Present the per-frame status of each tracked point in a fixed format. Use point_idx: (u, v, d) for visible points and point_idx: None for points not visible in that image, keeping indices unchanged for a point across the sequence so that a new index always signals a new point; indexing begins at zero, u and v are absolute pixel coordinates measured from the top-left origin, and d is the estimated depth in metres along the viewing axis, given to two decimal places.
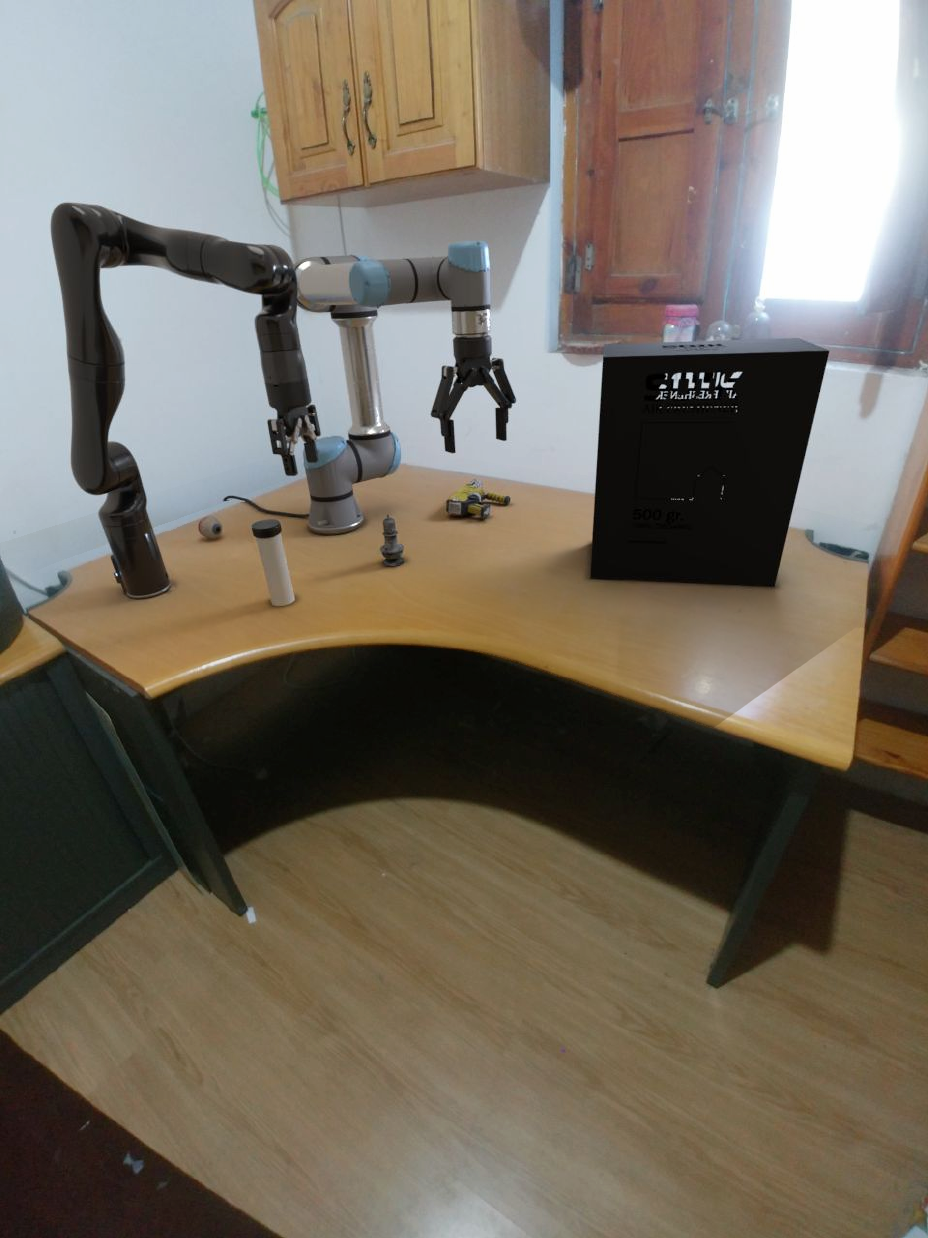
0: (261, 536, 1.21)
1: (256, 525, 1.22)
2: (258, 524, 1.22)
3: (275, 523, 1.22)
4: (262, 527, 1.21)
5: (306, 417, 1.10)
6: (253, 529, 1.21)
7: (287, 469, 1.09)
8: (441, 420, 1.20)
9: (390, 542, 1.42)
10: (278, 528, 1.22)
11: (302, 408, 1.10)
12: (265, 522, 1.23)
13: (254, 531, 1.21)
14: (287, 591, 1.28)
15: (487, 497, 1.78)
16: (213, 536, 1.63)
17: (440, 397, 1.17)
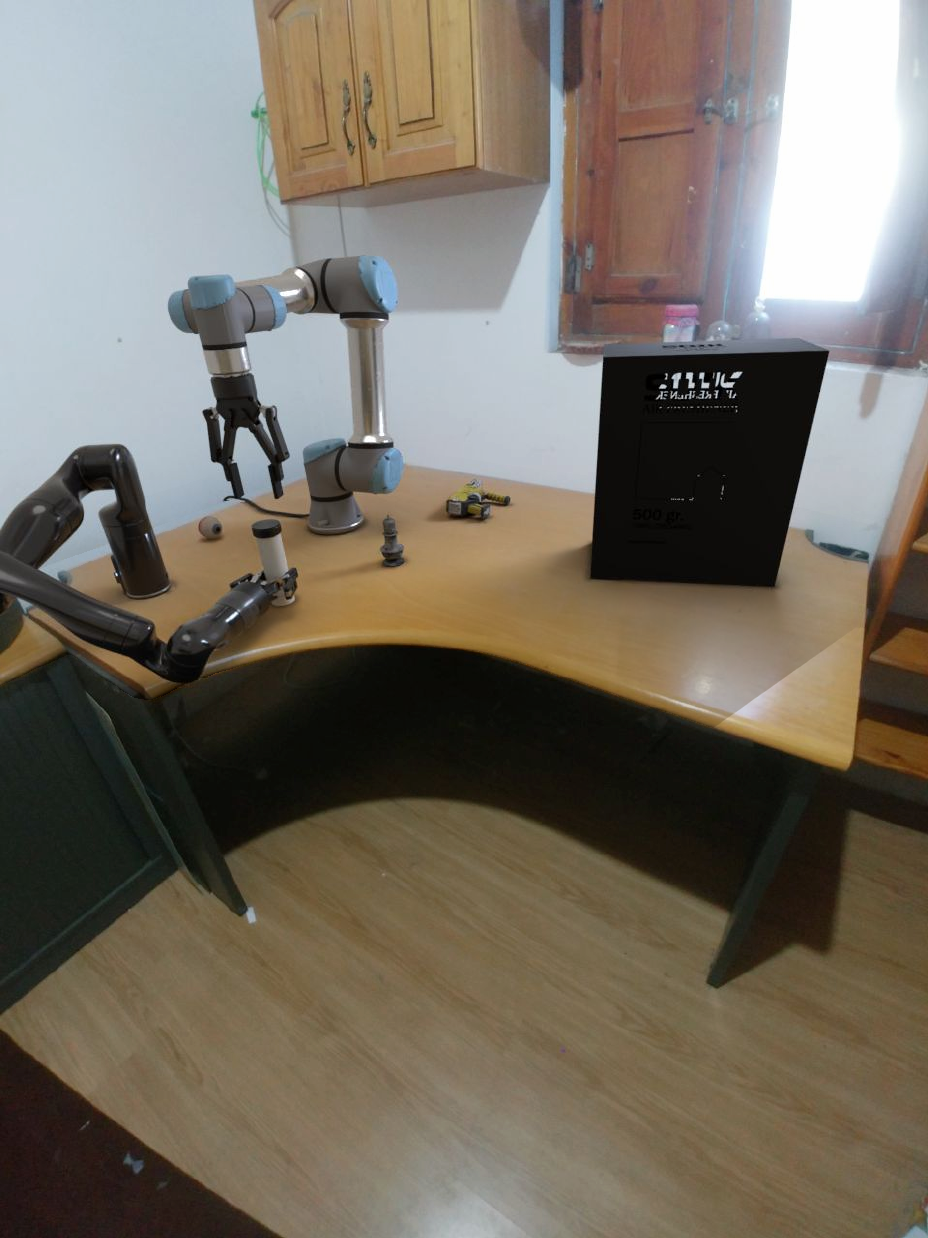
0: (261, 536, 1.21)
1: (256, 525, 1.22)
2: (258, 524, 1.22)
3: (275, 523, 1.22)
4: (262, 527, 1.21)
5: None
6: (253, 529, 1.21)
7: (296, 575, 1.29)
8: (280, 463, 1.15)
9: (390, 542, 1.42)
10: (278, 528, 1.22)
11: None
12: (265, 522, 1.23)
13: (254, 531, 1.21)
14: None
15: (487, 497, 1.78)
16: (213, 536, 1.63)
17: (282, 439, 1.13)
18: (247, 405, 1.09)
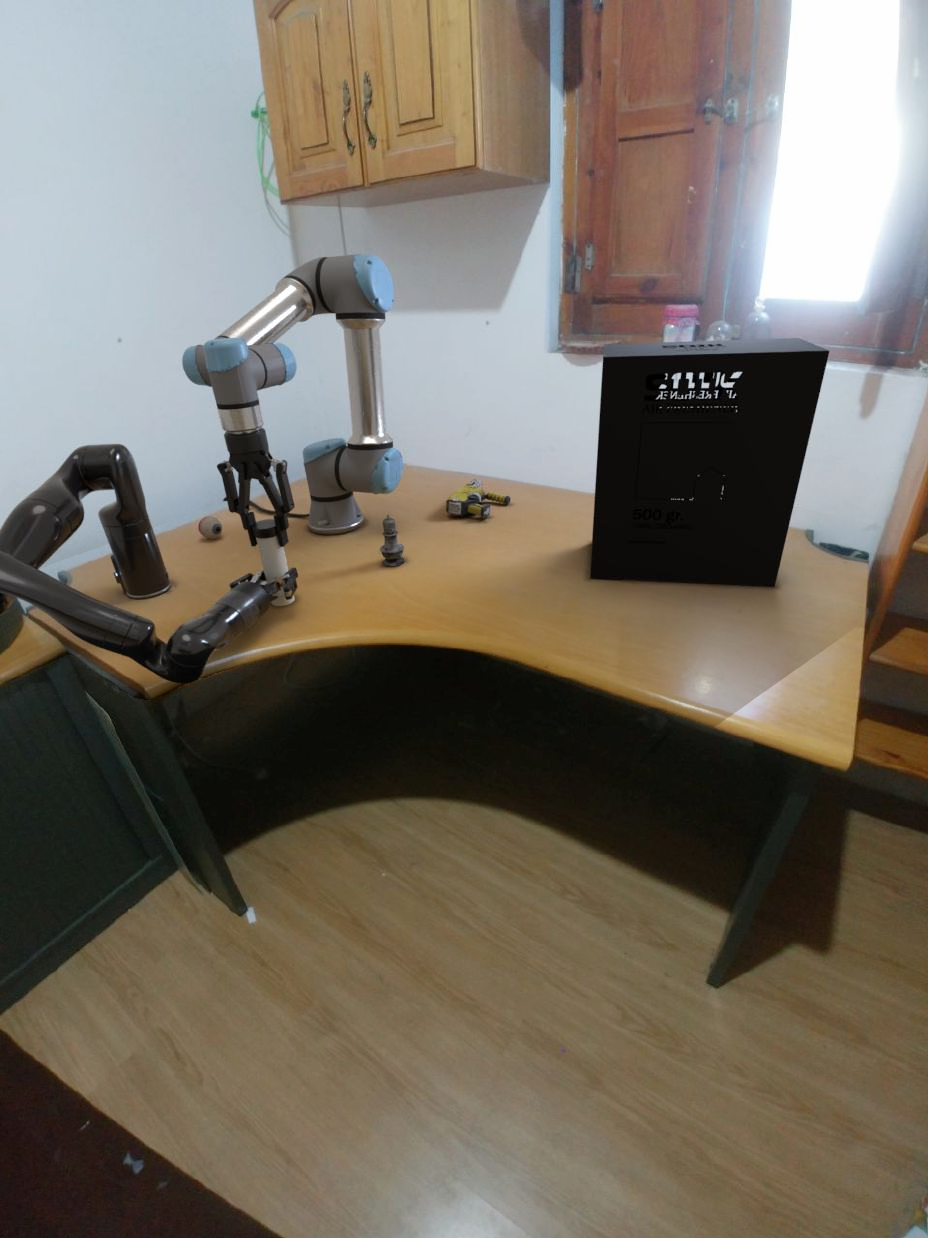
0: (261, 536, 1.21)
1: (256, 525, 1.22)
2: (258, 524, 1.22)
3: None
4: (262, 527, 1.21)
5: None
6: (253, 529, 1.21)
7: (296, 575, 1.29)
8: (285, 513, 1.21)
9: (390, 542, 1.42)
10: None
11: None
12: (265, 522, 1.23)
13: (254, 531, 1.21)
14: None
15: (487, 497, 1.78)
16: (213, 536, 1.63)
17: (289, 491, 1.18)
18: (259, 459, 1.14)
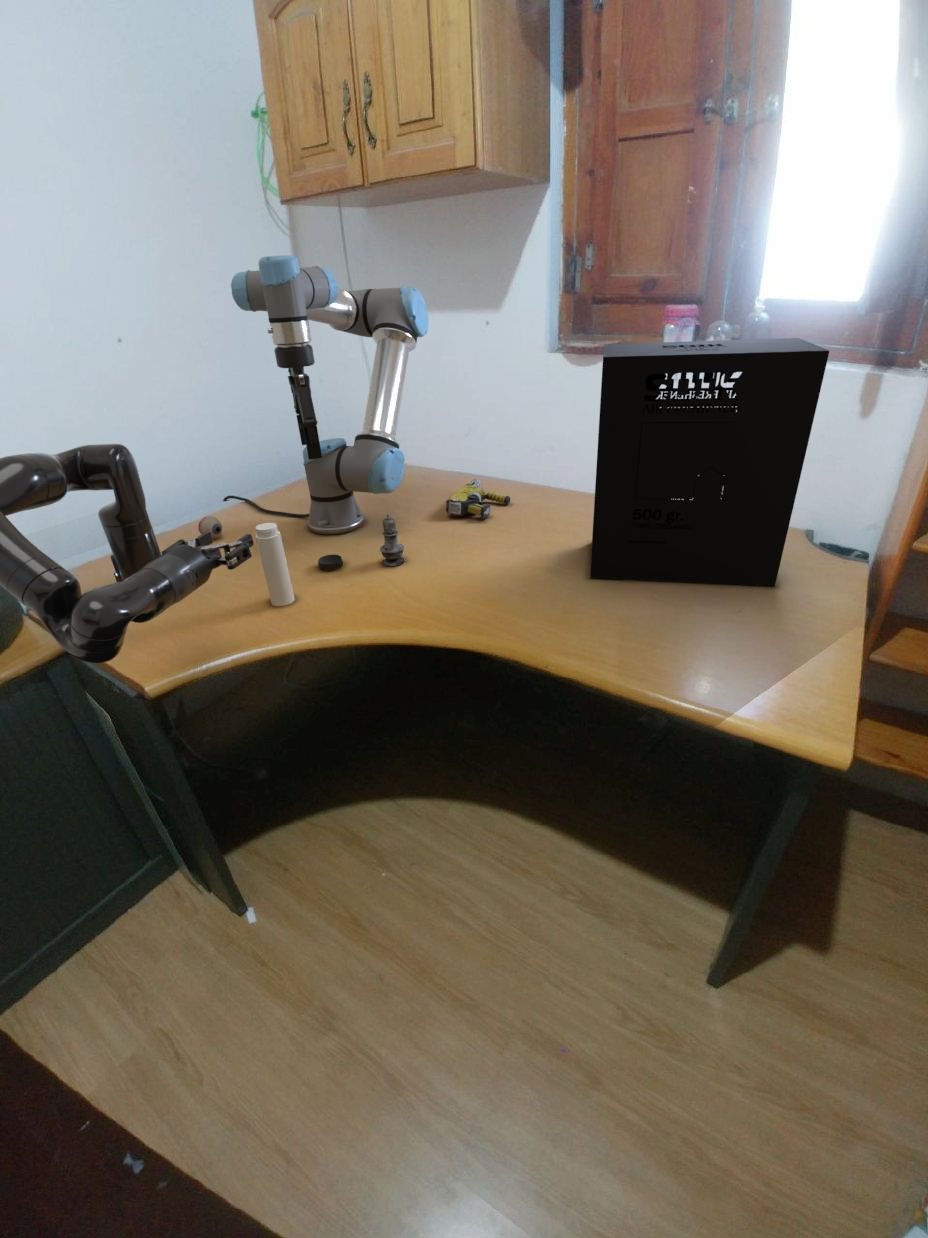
0: None
1: (334, 561, 1.43)
2: (331, 561, 1.43)
3: (327, 556, 1.46)
4: (337, 557, 1.45)
5: None
6: (339, 561, 1.44)
7: (251, 542, 1.09)
8: None
9: (390, 542, 1.42)
10: None
11: None
12: (326, 560, 1.44)
13: (341, 562, 1.44)
14: (287, 591, 1.28)
15: (487, 497, 1.78)
16: (213, 536, 1.63)
17: None
18: None
